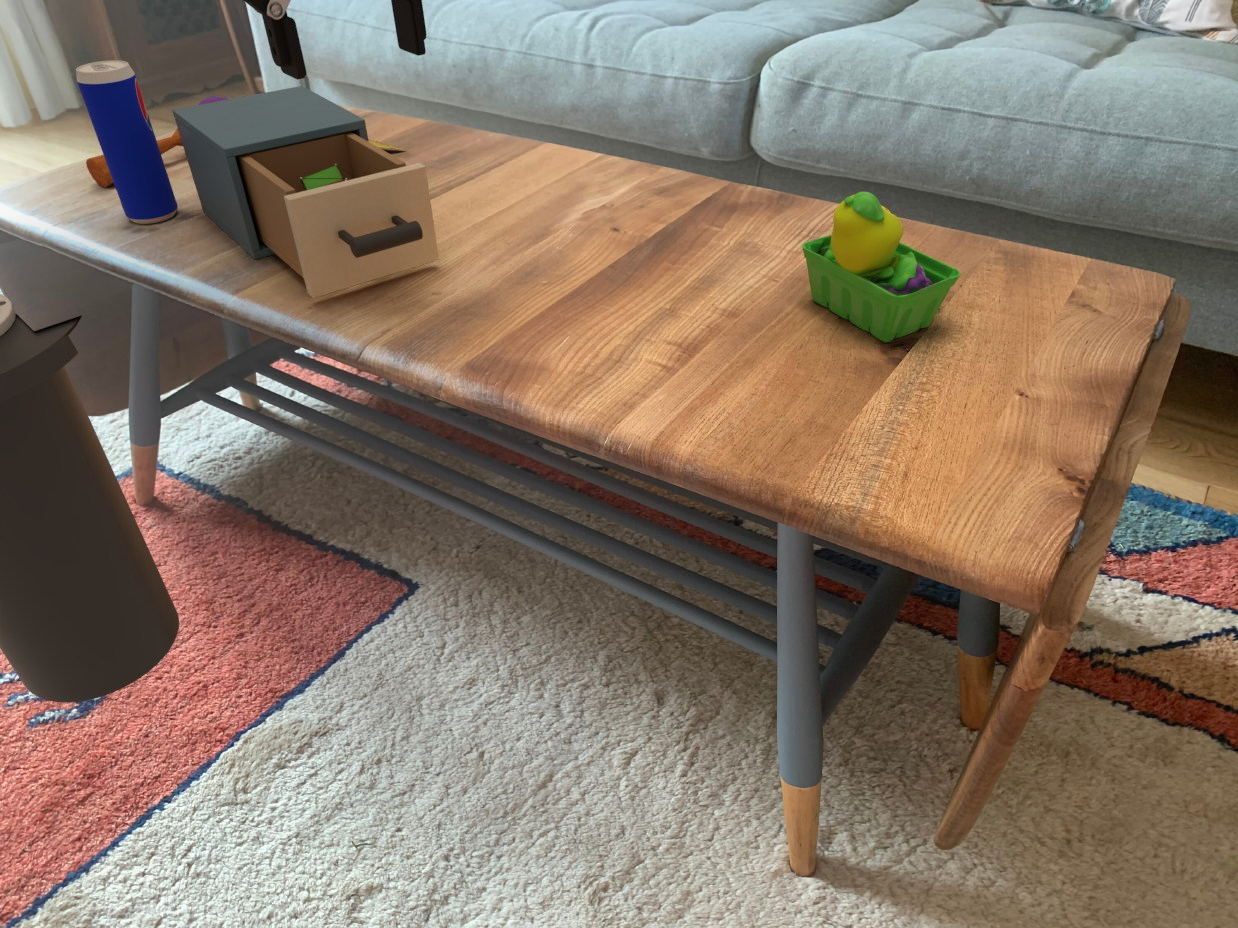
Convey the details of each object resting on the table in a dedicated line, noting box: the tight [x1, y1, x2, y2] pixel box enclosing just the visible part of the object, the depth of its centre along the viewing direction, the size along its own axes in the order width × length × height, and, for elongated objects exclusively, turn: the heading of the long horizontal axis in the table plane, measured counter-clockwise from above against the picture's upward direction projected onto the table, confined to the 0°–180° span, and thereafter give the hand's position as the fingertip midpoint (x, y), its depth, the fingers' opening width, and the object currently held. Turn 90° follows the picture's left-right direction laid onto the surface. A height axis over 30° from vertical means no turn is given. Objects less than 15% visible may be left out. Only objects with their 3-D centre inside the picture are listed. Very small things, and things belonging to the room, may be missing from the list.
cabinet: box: [171, 85, 369, 260], centre depth 91 cm, size 16×14×11 cm
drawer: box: [237, 131, 440, 299], centre depth 81 cm, size 19×12×9 cm, turn 38°
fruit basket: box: [801, 191, 962, 343], centre depth 72 cm, size 11×9×11 cm
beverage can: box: [75, 59, 179, 225], centre depth 91 cm, size 5×5×15 cm
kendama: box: [85, 95, 230, 188], centre depth 107 cm, size 6×6×20 cm
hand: (355, 63), depth 67 cm, fingers open, 9 cm apart
